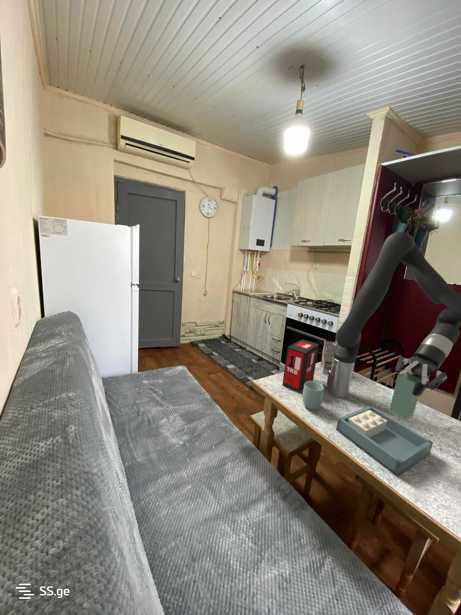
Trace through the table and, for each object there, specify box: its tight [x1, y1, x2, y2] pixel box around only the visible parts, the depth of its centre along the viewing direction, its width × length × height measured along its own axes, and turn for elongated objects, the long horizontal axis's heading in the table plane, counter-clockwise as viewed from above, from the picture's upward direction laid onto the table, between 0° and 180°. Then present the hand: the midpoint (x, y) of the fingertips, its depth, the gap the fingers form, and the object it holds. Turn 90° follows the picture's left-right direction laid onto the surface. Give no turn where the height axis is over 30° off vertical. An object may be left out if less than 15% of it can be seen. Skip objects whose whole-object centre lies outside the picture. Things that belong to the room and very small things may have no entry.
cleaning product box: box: [281, 339, 320, 394], centre depth 124 cm, size 16×9×20 cm, turn 141°
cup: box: [302, 380, 325, 411], centre depth 107 cm, size 8×8×10 cm
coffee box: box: [320, 340, 338, 375], centre depth 141 cm, size 9×6×16 cm
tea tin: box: [389, 373, 422, 420], centre depth 82 cm, size 5×5×13 cm
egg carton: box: [348, 410, 387, 438], centre depth 94 cm, size 7×13×5 cm, turn 119°
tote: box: [335, 405, 434, 477], centre depth 90 cm, size 22×20×5 cm
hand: (405, 390), depth 81 cm, fingers closed on tea tin, 5 cm apart
